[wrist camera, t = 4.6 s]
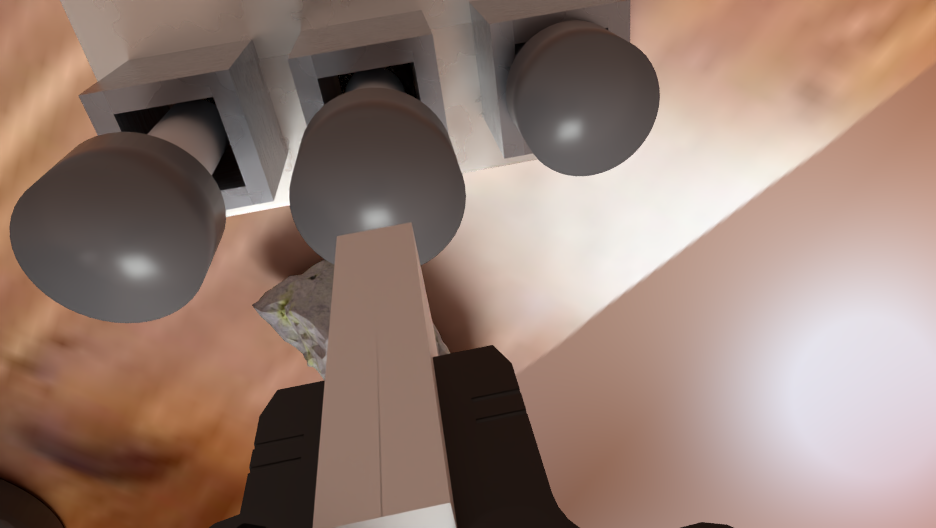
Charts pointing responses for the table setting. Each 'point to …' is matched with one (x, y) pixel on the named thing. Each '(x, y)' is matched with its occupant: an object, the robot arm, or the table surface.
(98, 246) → the knob
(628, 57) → the knob
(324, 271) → the rock
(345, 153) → the knob
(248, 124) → the square socket rack
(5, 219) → the table surface
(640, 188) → the table surface
